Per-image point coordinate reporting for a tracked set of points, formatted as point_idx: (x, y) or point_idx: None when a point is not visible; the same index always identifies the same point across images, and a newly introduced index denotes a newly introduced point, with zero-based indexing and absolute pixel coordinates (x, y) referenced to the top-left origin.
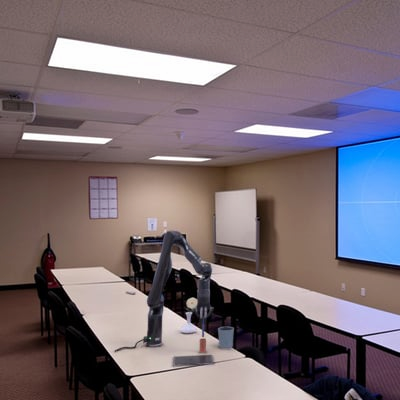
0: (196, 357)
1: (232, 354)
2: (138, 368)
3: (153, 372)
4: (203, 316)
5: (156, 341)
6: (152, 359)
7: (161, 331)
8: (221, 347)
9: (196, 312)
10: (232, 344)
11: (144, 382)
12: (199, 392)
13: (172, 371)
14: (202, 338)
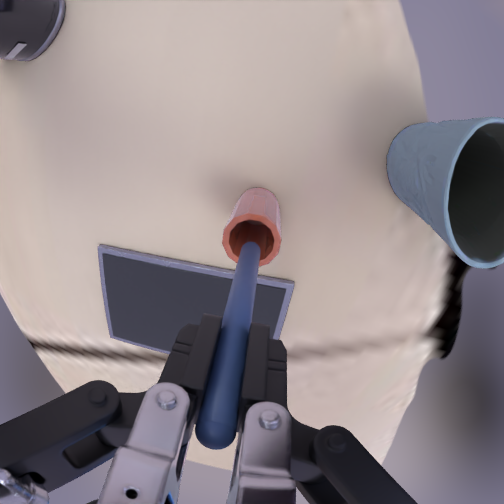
0: (203, 301)
1: (401, 292)
2: (23, 302)
3: (68, 349)
4: (215, 446)
5: (20, 54)
6: (32, 234)
7: (7, 19)
8: (394, 189)
9: (61, 478)
10: (460, 194)
11: (71, 386)
12: (196, 457)
13: (117, 367)
14: (253, 216)
